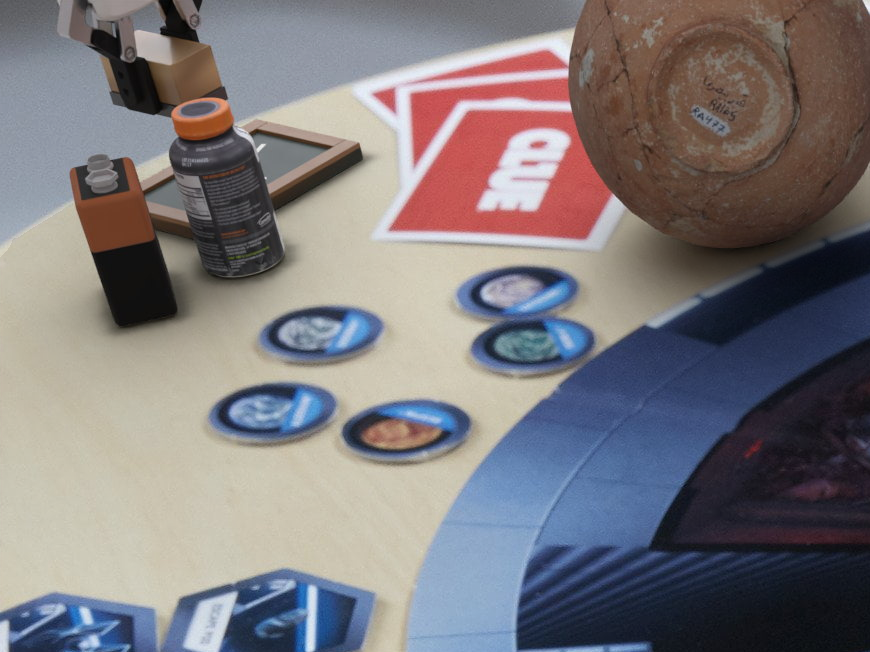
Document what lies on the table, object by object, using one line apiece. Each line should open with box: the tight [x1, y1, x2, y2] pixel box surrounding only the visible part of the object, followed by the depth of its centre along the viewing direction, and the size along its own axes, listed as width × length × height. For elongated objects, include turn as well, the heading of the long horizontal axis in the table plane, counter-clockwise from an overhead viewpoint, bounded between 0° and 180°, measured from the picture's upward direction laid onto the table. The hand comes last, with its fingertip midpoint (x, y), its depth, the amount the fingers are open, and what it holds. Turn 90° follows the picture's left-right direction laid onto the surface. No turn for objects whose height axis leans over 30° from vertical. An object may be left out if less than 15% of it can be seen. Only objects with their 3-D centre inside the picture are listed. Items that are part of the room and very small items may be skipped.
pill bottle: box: [168, 98, 286, 278], centre depth 169 cm, size 6×6×11 cm
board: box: [140, 118, 364, 240], centre depth 182 cm, size 16×11×1 cm
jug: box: [567, 0, 870, 249], centre depth 168 cm, size 22×22×30 cm
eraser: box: [98, 29, 229, 119], centre depth 173 cm, size 4×8×4 cm, turn 59°
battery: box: [69, 153, 178, 328], centre depth 165 cm, size 4×7×10 cm, turn 20°
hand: (168, 95), depth 174 cm, fingers closed on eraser, 4 cm apart
